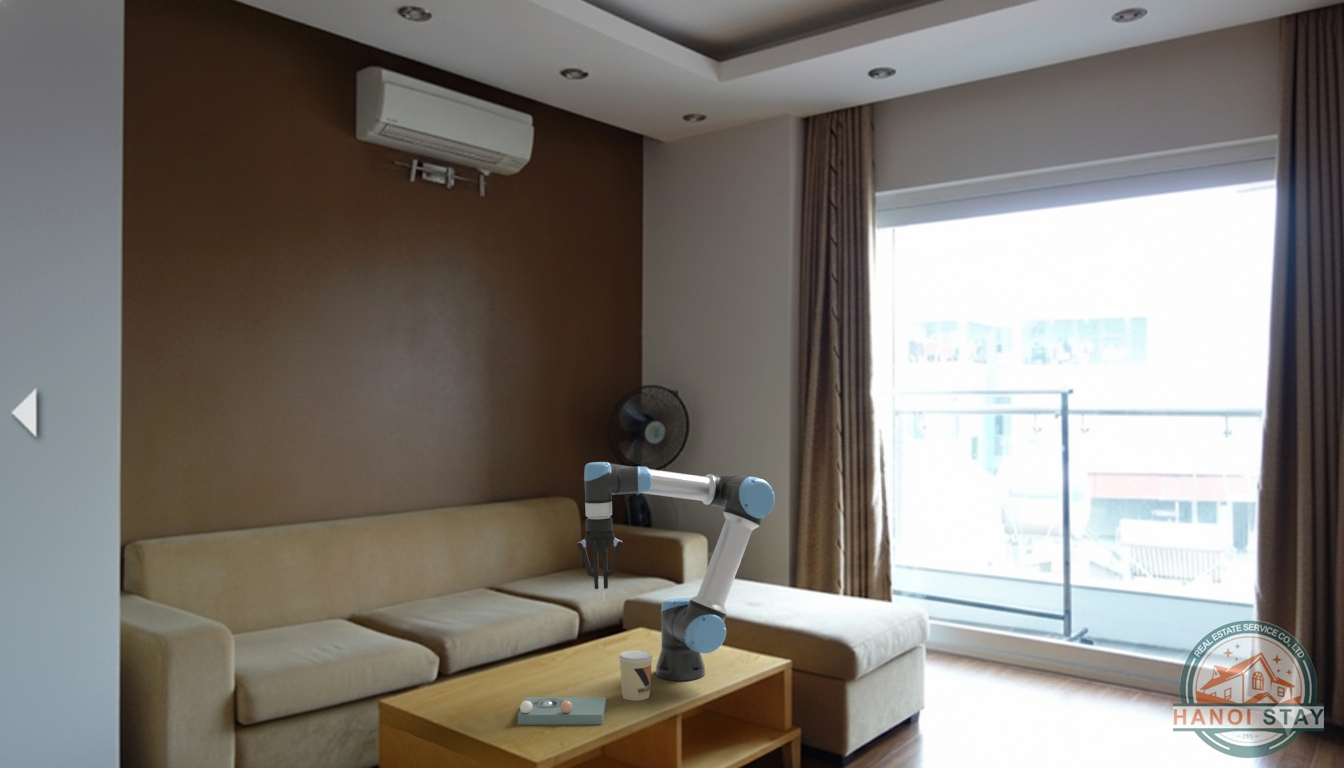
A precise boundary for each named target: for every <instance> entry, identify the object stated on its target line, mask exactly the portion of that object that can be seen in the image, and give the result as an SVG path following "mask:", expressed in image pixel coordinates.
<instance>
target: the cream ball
mask: <svg viewBox="0 0 1344 768" xmlns="http://www.w3.org/2000/svg"><path fill="white" fill-rule="evenodd" d="M519 709H521V711H522V712H523V713H529V712H531V710H532V703H531V702H530V701H525V700H523V701H522V702H521V704H520V705H519Z"/></svg>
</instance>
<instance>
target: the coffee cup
mask: <svg viewBox="0 0 1344 768" xmlns="http://www.w3.org/2000/svg"><path fill="white" fill-rule="evenodd" d="M618 659H619V666H620V667H619V668H620V680H621V681H620V684H621V696H622V698H623V699H624V700H628V701H643V700H647V699H649V697H650V693H651V690H650V689H651V678H652V677H651V675H652V660H653V655H652V653H651V652H650V651H647V650H640V649H633V650H631V649H630V650H625V651H623V652H621V653H620V656H619V658H618Z"/></svg>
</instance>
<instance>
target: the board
mask: <svg viewBox="0 0 1344 768" xmlns="http://www.w3.org/2000/svg"><path fill="white" fill-rule="evenodd" d="M566 700H567V701H570V702H571V703H572V710H571V711H570V712H569V713H563V712H562V711H561V709H560V705H561V703H562V702H563V701H566ZM524 701H530V702H531V703H532V710H531V712H529V713H523V712H522V711H521V709H520V708H519V709H520V710H519V711H518V714H517V725H518V726H519V725H521V726H522V725H523V726H525V725H527V726H528V725H531V726H533V725H534V726H535V725H538V726H540V725H544V726H545V725H550V726H551V725H562V726H563V725H566V726H567V725H603V722H604V718H605V712H606V707H607V697H606V696H526V697H525V699H524ZM545 701H551V702H552V703H553V706H543V705H542V704H543V703H544V702H545Z"/></svg>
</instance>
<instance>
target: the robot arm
mask: <svg viewBox="0 0 1344 768" xmlns="http://www.w3.org/2000/svg"><path fill="white" fill-rule="evenodd" d="M583 481H584V493H585V494H584V496H585V500H584V501H585V502H584V505H585V508H584V509H585V517H587V518H586V519H585V529H586V530H585V533H586V534H585V536H584V539H582V540H580V541H578V542H577V548H578V549H579V550H580V552H581V555H582V559H583V564H584V566H585V567H584V568H585V570H586V574H587V575H588V577H592V578H594V579H593V580H594V581H593V584H594V590H598V602H605V600H606V599H605V590H607V589H608V588H609V577H610V576H613V575H614V573H615V570H616V564H617V559H618V555H619V550H620V548H621V546H622V545H623V540H621V539H618V538H616V536H615V533H614V532H613V531H614V527H613V525H614V524H613V518H612V517H611V516H612V515H613V498H612V495H613V496H615V495H627V494H629V495H630V494H646V495H654V496H661V497H668V498H670V497H671V498H677V499H685V500H691V501H692V500H694V501H701V502H702V504H703V505H707V506H713V507H718V508H721V509H723V514H722V515H723V516H724V519H725V521H724V524H723V526H722V529H721V532H720V534H719V538H718V539H717V543H716V545H715V548H714V550H713V552H712V555H711V559H710V560H709V564H708V566H707V568H706V572H705V574H704V577H703V579H702V583H701V585H700V587H699V590H698V593H697V594H696V595H695V596H693V597H682V598H680V597H679V598H678V597H677V598H669V599H665V600H663V601H662V602H661V610H660V614H661V616H660V619H661V620H660V621H661V622H660V623H661V624H660V625H661V627H660V628H661V629H660V630H661V635H660V636H661V650H660V652H659V655H658V659H657V662H656V665H655V674H656V676H657V677H659V678H661V679H663V680H668V681H692V680H693V681H694V680H697V679H700V678H702V677H704V676H705V675H706V666H705V664H704V663H705V662H704V660H703V657H702V654H710V653H712V652H714V651H717V650H718V649H719V648H720V647H722V645H723V643H724V642H725V639H726V637H727V628H726V624H725V620H726V617H727V614H728V613H727V610H726V607H725V605H726V602H727V600H728V596H729V594H730V593H731V592H730V591H731V589H732V585H733V583H734V581H735V577H736V575H737V572H738V569H739V568H740V565H741V561H742V559H743V556H744V554H745V551H746V548H747V545H748V542H749V541H750V538H751V535H752V533H753V531H754V530H756V529H757V528H759V527H760V525H761V523H762V520H763V519H764V518H765V517H766V516H768V515H770V514H771V512H772V511H773V509H774V506H775V503H776V497H775V496H776V495H775V493H774V489H773V488H772V485H770V484H769V483H768V481H766V480H765V479H762V478H760V477H756V476H747V475H742V474H741V475H740V474H713V473H712V474H711V473H708V474H706V475H705V476H702V475H695V474H688V473H680V472H675V471H674V472H673V471H665V470H659V469H658V470H657V469H651V468H649V467H647V466H639V465H638V466H630V465H629V466H627V465H622V464H617V463H610V462H608V461H597V462H596V461H595V462H594V461H592V462H589V463H586V464H585V466H584V477H583ZM612 543H613V547H614V550H613V555H612V559H611V563H610V564H611V565H610V569H608V568H609V567H608V566H609V565H608V549H609V548H610V546H611V545H612ZM587 545H588V546H589V548H590V549H591V550H592V554H593V558H592V559H593V570H592V566H591V563H590V559H589V556H588V551H587ZM599 551H601V552H602V576H599V575H600V573H599V570H600V569H599Z"/></svg>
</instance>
